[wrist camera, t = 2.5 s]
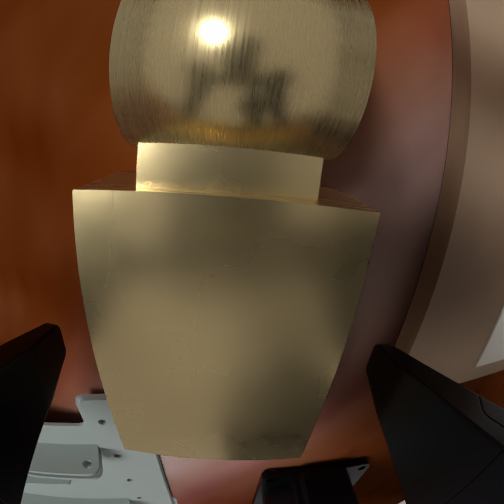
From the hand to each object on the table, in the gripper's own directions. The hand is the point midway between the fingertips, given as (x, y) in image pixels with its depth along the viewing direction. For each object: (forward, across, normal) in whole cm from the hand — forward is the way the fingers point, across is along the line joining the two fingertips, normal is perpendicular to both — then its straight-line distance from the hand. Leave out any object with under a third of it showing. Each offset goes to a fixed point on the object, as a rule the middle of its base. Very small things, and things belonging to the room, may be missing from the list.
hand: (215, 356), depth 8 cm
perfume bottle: (+2, 0, -3) cm, 3 cm away
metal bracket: (+3, +9, +12) cm, 15 cm away
